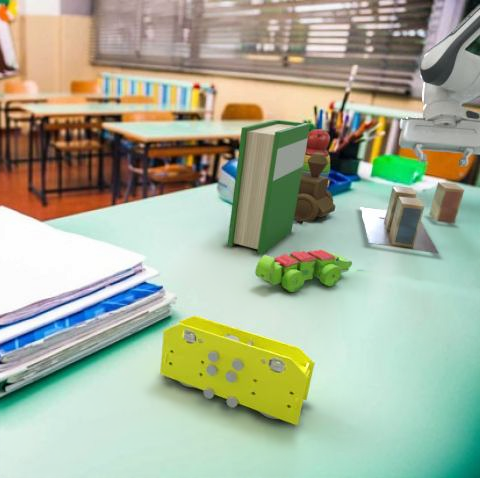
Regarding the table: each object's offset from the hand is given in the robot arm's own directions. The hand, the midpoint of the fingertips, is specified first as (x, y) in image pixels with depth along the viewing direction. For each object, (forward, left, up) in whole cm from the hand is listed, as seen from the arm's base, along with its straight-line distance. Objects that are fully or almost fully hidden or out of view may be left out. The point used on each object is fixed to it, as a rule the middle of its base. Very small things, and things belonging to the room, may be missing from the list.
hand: (443, 163), depth 127 cm
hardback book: (+39, +44, -13) cm, 60 cm away
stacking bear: (+31, -5, -13) cm, 34 cm away
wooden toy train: (+35, +22, -13) cm, 43 cm away
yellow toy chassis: (+37, +98, -13) cm, 105 cm away
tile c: (-1, +10, -13) cm, 16 cm away
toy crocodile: (+30, +63, -13) cm, 71 cm away
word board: (+11, +24, -13) cm, 29 cm away
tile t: (+11, +34, -12) cm, 37 cm away
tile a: (+11, +24, -12) cm, 29 cm away
